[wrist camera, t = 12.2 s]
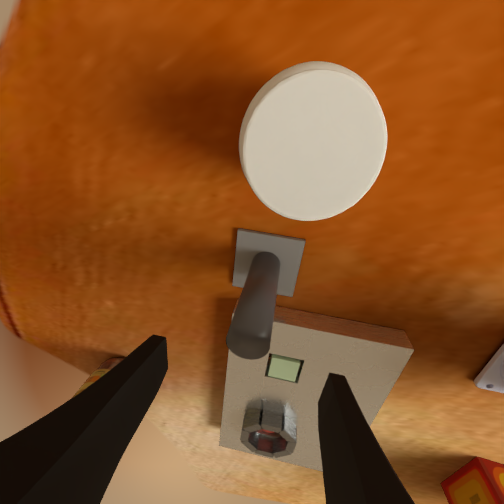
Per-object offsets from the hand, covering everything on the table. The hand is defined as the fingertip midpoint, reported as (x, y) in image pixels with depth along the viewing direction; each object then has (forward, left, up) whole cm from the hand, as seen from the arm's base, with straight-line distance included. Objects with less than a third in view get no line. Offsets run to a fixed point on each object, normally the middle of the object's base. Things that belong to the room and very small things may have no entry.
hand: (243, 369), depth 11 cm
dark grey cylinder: (0, 0, -10) cm, 10 cm away
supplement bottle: (-1, -9, -10) cm, 14 cm away
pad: (-3, +9, -10) cm, 13 cm away
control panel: (-5, +14, -10) cm, 18 cm away
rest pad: (0, 0, -10) cm, 10 cm away
